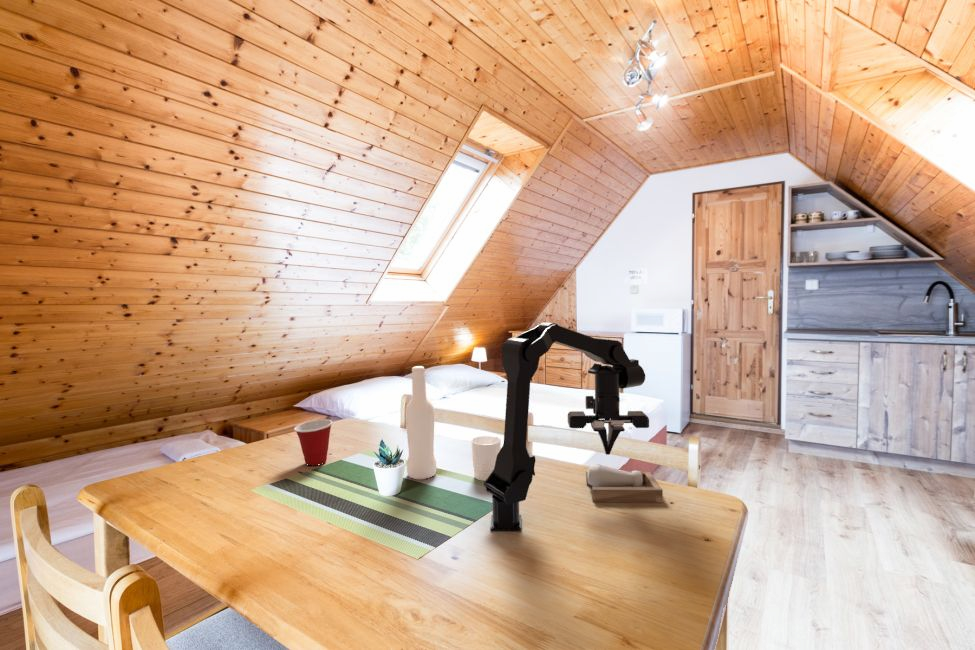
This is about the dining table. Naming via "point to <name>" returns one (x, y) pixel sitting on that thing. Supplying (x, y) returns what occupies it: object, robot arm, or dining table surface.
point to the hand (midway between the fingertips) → (607, 454)
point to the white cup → (485, 455)
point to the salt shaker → (613, 477)
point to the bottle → (420, 429)
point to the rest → (629, 492)
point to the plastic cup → (314, 440)
